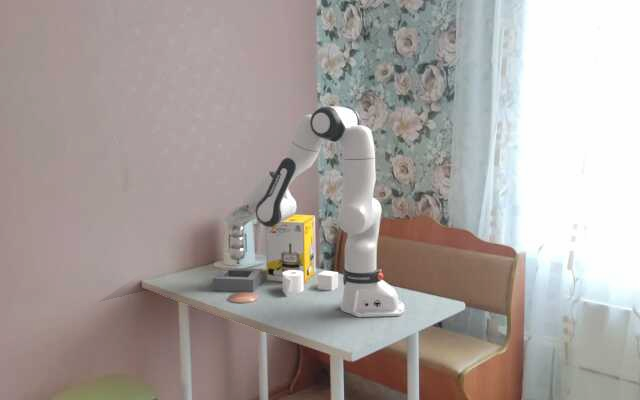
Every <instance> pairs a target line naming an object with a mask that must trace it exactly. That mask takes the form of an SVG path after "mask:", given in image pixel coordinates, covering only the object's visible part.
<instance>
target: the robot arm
mask: <svg viewBox="0 0 640 400" xmlns="http://www.w3.org/2000/svg"><path fill="white" fill-rule="evenodd" d="M361 122H362V120H361V116H360V115H359V113H358V111H357V110H355V109H353V108H352V107H348V106H339V105H331V106H322V107H319V108H318V109H316V110H315V111H314V112H313V113H312V114H305V115H303V116H302V117H301V118H300V120H299V122H298V124H297V125H296V126H295V128H294V131H293V133H292V136H291V139H290V141H289V143H288V146H287V149H286V151H285V154H284V155H283V158H282V160H281V161H280V163H279V166H278V167H277V168H276V171H268V172H266V173H265V174H264V175H263V176H262V177H261V178H260V179H259V180H258V181H257V183H256V184H255V186H254V188H253V189H251V190H250V191H249V192H248V194H247V195H246V196H245V197H244V198H243V200H242V204H243V205H239V206H237V207H235V208H233V210H232V209H231V211H230V212H229V213H228V214H227V215H226V216H225V218H224V222H225V224H226V225H227V227H226V228H227V229H228V231H230V230H232V229H233V228H234V225H237V224H240V223H244V222H245V225H244V227H245V226H246V225H247V224H248V223H249V222H251V221H254V220H258V221H259V223H260V224H261V225H263V226H264V227H266V226H267V227H272V226H274V225H276V224H278V223H279V222H281V221H283V220H286V219H288V218H290V217H292V216H293V215H296V212H297V209H298V204H297V201H296V199H295V198H294V197H293V196H292V194H291V192H290V190H289V187H290V185H291V183H292V182H293V181H294V179H295V178H296V177H298V176H299V175H300V174H302V173H304V172H305V171H307V170H308V169H309V168H311V167H312V166H313V164H314V163H315V162H316V160H317V158H318V156H319V154H320V151H321V148H322V145H323V143H324V141H325V140H327V141H331V142H334V143H336V142H339V143H340V145H341V150H342V154H341V155H342V176H343V177H342V179H343V180H342V188H341V189H342V190H341V191H342V192H341V199H340V207H339V208H340V209H339V212H338V215H337V222H338V223H337V224H338V225H339V228H340V229H341V230H342V231H343V232H344V233H346V234H347V237H346V242H345V244H344V268H343V272H342V281H343V292H342V293H343V294H342V298H341V303H340V306H339V308H340V310H341V311H342V312H345V313H347V314H350V315H353V316H354V317H356V318H373V317H374V318H376V317H399V316H402V315H403V314H404V313H405V304H404V303H403V302H402V301H401V300H399V296H398V295H399V294H398V292H397V290H396V289H395V288H394V287H393V286H392V285H390V284H389V283H388V282H386V281H385V280H383V279H384V274H383V271H382V269H381V268H377V257H378V256H377V255H378V254H377V252H378V251H377V250H378V249H377V248H378V240H379V233H380V226H381V225H380V224H381V216H382V210H383V209H382V205H381V203H380V201H379V200H378V199H377V198H375V197H374V190H375V184H376V179H377V176H376V175H377V174H376V149H375V144H374V143H375V142H374V138H373V133H372V131H371V129H370V128H369V127H367V126H365V125H362V123H361Z"/></svg>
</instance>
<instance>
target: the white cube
mask: <svg viewBox="0 0 640 400" xmlns="http://www.w3.org/2000/svg"><path fill="white" fill-rule="evenodd" d="M338 287H339V272H338V271H332V270H323V271H321V272H319V273H318V274H317V289H318V290H323V291H330V292H332V291H334V290H335V289H337V288H338Z"/></svg>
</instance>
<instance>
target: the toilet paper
mask: <svg viewBox="0 0 640 400" xmlns="http://www.w3.org/2000/svg"><path fill="white" fill-rule="evenodd" d="M304 284H305V283H304V281H303V272H302V271H299V270H288V271H284V272H283V273H282V292H283V294H284V295H285V296H286V297H288V295H289V294H298V293H302V292H304V287H305V286H304Z"/></svg>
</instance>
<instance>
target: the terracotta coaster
mask: <svg viewBox="0 0 640 400" xmlns="http://www.w3.org/2000/svg"><path fill="white" fill-rule="evenodd" d="M258 299H259V295H258V294H257V293H254V292H235V293H232V294H231V295H229V296H228V301H229V302H231V303H232V304H233V303H234V304H248V303H254V302H255V301H257V300H258Z"/></svg>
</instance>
